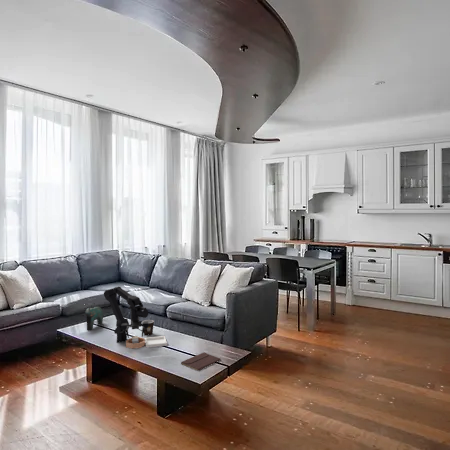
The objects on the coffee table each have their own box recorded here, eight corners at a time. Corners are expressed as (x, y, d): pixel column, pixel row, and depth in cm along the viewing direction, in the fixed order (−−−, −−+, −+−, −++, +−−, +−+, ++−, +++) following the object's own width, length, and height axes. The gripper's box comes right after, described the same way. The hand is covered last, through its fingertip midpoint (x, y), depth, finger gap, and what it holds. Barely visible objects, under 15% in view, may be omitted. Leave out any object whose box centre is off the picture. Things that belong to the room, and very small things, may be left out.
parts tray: (146, 348, 248) (146, 345, 248) (145, 340, 262) (145, 337, 262) (167, 346, 252) (166, 343, 252) (164, 338, 266) (164, 335, 266)
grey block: (132, 347, 248) (132, 341, 248) (132, 345, 253) (132, 338, 252) (138, 346, 249) (138, 340, 249) (138, 344, 254) (138, 338, 254)
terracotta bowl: (126, 349, 246) (126, 344, 245) (126, 343, 258) (126, 338, 258) (145, 347, 249) (145, 342, 249) (144, 341, 261) (144, 336, 261)
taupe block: (132, 345, 253) (132, 338, 253) (131, 342, 257) (131, 336, 257) (138, 344, 254) (138, 338, 254) (137, 342, 258) (137, 335, 258)
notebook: (220, 361, 227) (220, 358, 227) (198, 371, 213) (198, 368, 213) (203, 354, 237) (203, 351, 237) (180, 364, 222) (180, 361, 222)
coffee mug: (155, 332, 279) (155, 320, 279) (152, 336, 270) (151, 323, 270) (140, 332, 280) (140, 319, 280) (136, 336, 272) (136, 323, 271)
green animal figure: (90, 331, 285) (90, 305, 284) (83, 330, 286) (82, 305, 285) (104, 323, 304) (104, 299, 303) (97, 322, 305) (97, 299, 305)
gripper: (120, 320, 245) (121, 343, 245) (149, 317, 250) (149, 340, 250) (121, 315, 255) (121, 337, 256) (148, 313, 260) (148, 334, 261)
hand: (135, 337), depth 255 cm, fingers open, 9 cm apart
